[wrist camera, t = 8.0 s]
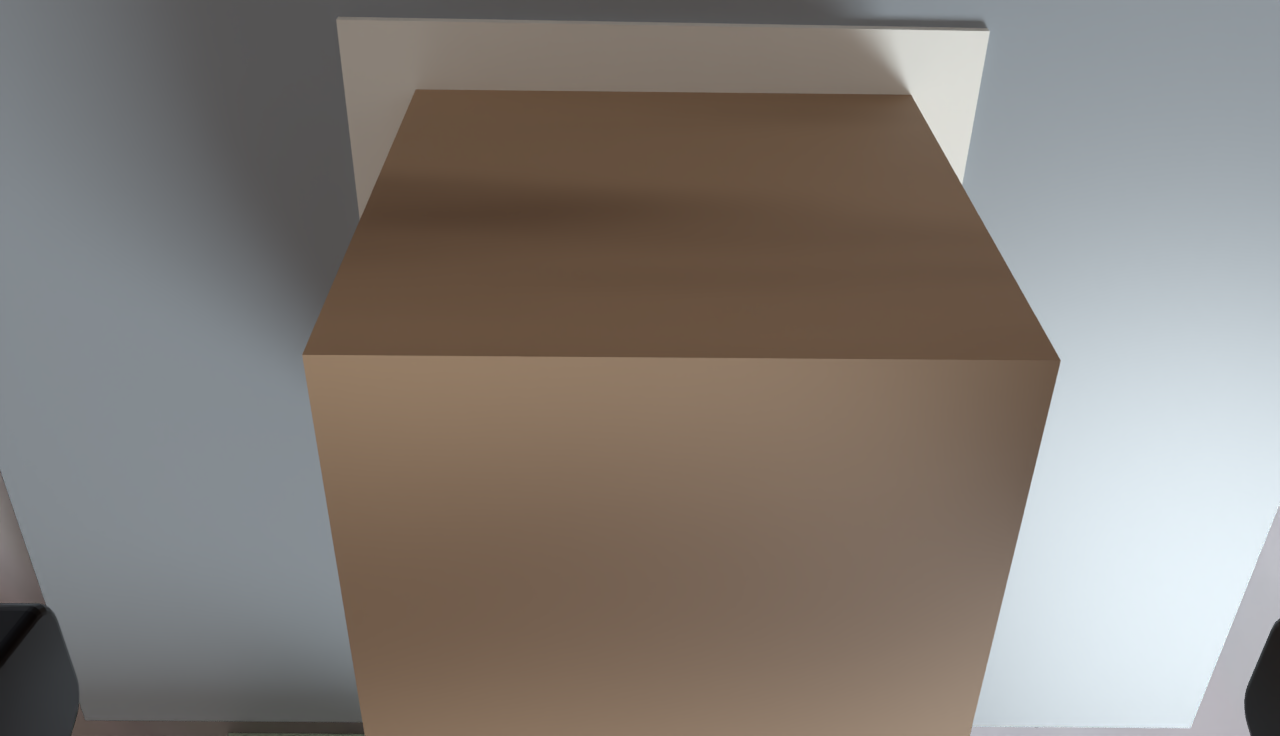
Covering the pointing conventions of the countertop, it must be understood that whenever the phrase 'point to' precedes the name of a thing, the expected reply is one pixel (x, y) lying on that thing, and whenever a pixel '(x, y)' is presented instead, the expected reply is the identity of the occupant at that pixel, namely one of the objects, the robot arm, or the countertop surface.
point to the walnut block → (673, 419)
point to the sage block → (289, 734)
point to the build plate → (619, 62)
